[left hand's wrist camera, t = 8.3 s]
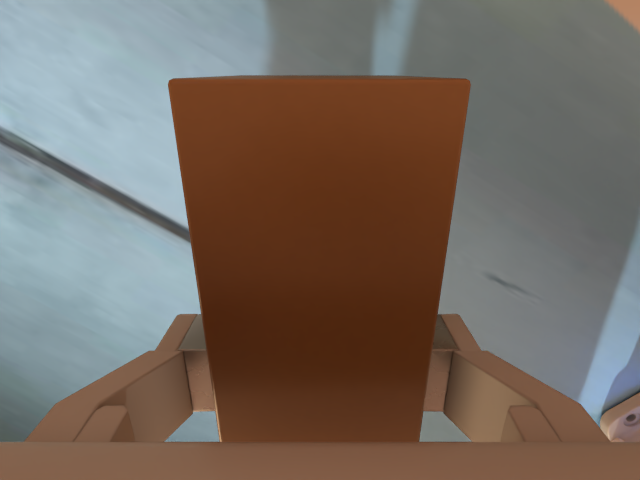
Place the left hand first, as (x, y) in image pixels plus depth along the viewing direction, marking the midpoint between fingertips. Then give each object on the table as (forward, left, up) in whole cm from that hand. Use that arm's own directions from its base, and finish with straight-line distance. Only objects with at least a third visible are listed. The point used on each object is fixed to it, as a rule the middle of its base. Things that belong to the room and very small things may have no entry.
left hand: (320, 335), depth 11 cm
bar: (+24, +17, -4) cm, 30 cm away
